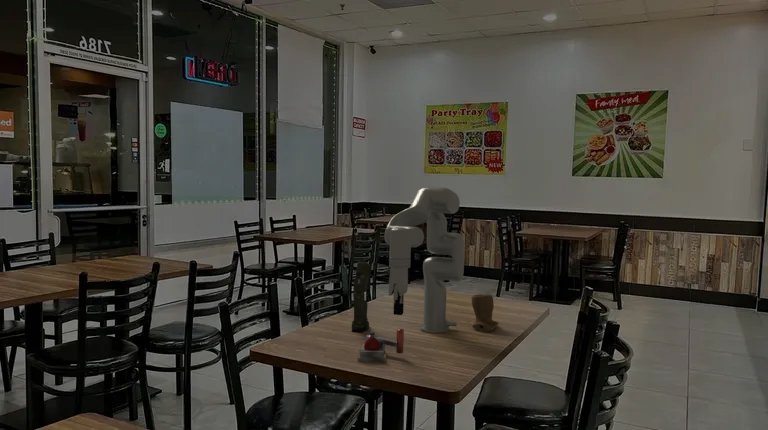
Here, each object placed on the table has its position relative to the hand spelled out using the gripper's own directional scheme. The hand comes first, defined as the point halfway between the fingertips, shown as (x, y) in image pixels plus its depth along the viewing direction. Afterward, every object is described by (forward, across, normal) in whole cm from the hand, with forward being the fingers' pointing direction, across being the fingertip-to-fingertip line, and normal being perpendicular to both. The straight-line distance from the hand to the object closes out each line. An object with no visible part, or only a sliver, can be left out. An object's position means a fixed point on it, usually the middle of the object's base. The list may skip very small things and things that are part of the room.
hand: (398, 314), depth 202 cm
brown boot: (+16, -58, +25) cm, 65 cm away
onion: (+17, -2, -10) cm, 20 cm away
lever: (+15, -8, -7) cm, 18 cm away
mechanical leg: (+16, -38, -26) cm, 49 cm away
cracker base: (+17, -5, -11) cm, 21 cm away
